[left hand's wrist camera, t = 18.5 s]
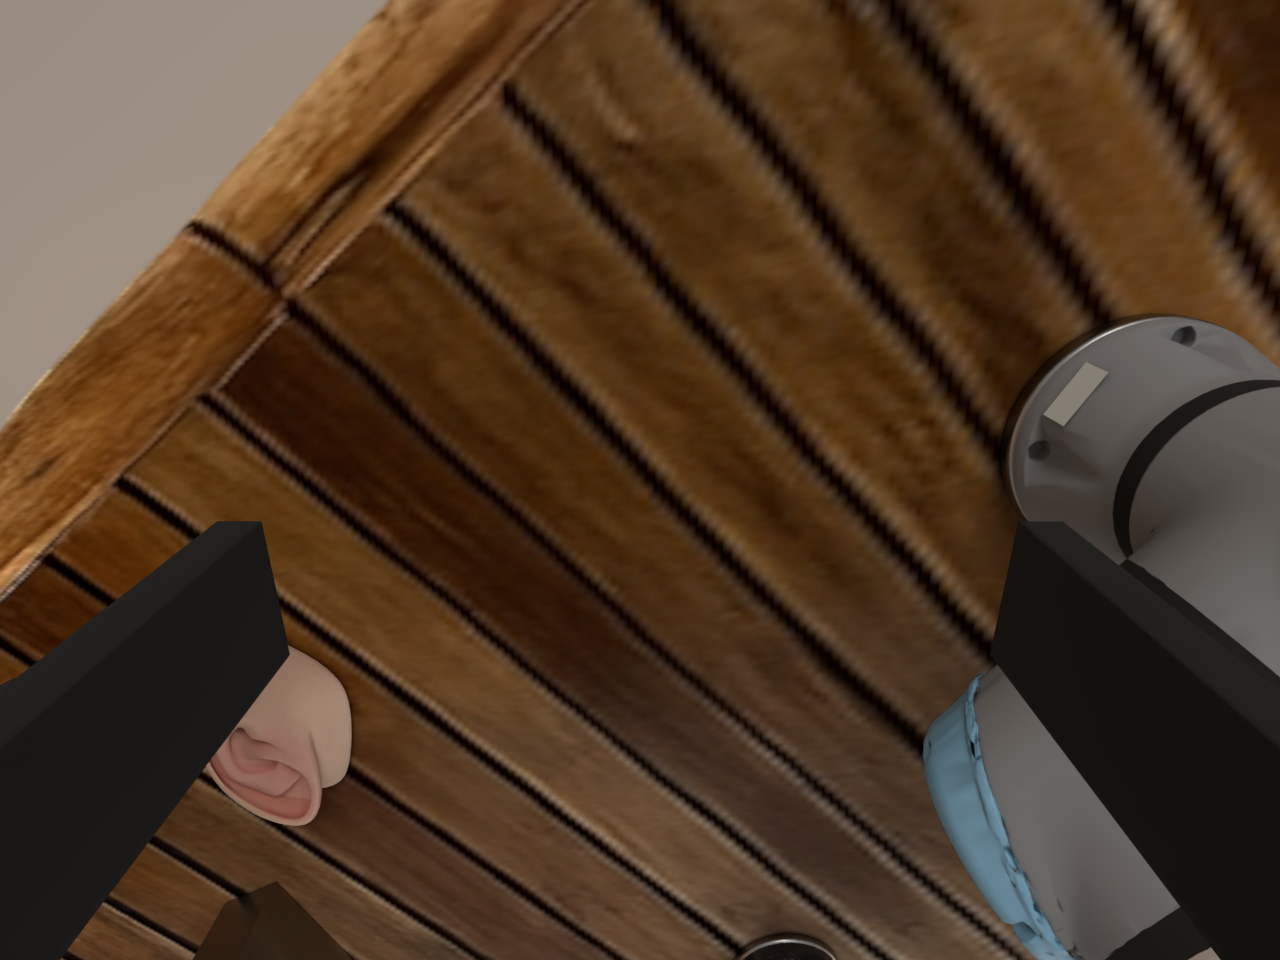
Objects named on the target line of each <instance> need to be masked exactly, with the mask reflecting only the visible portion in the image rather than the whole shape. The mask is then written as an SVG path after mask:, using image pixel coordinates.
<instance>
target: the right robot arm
mask: <svg viewBox="0 0 1280 960" xmlns="http://www.w3.org/2000/svg"><path fill="white" fill-rule="evenodd" d="M734 960H837V958H836V956H835V954H834V953H833V951H832V950H831V949H830V948H829V947H828V946H827V945H825V944H824V943H822V942H820V941H819V940H816V939H814V938H811V937H808V936H804V935H797V934H779V935H773V936H768V937H765V938H762V939H759V940H757V941H755V942H753V943H751V944H749V945H748V946H746V947H745V948H744V949H743V950H742V951H741V952H740V953H739V954H738V955H737V956H736V958H735V959H734Z"/></svg>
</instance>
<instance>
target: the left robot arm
mask: <svg viewBox="0 0 1280 960" xmlns="http://www.w3.org/2000/svg"><path fill="white" fill-rule="evenodd" d="M1001 470H1002V476H1003V482H1004V485H1005V488H1006V491H1007V494H1008V496H1009V498H1010V500H1011V502H1012V504H1013V505H1014V507H1015V509H1016V510H1017V511H1018V513H1019V514H1020V515H1021V517H1022V518H1023V519H1024V520H1025V521H1019V522H1018V526H1017V531H1016V536H1015V540H1014V545H1013V550H1012V554H1011V559H1010V564H1009V568H1008V573H1007V578H1006V582H1005V587H1004V592H1003V596H1002V601H1001V606H1000V610H999V615H998V620H997V624H996V629H995V634H994V638H993V643H992V648H991V652H990V656H991V657H992V658H993V660H994V661H995V662H996V663H997V665H996V666H995V667H993V668H992V669H991V670H989V671H988V672H987V673H985V672H983V673H981V674H980V675H978V676H977V677H976V678H974V679H973V680H972V681H971V683H970V685H969V687H968V689H967V690H966V691H965V692H964V693H963V694H962V695H961V696H960V697H959V698H958V699H957V700H956V701H955V702H954V703H953V704H952V705H951V706H949V707H948V708H947V709H946V710H945V711H944V712H943V713H942V714H941V715H940V716H938V717H937V718H936V719H935V720H934V722H933V723H932V724H931V726H930V727H929V729H928V731H927V733H926V736H925V740H924V746H923V747H924V750H923V759H924V764H925V766H924V769H925V777H926V781H927V785H928V788H929V792H930V795H931V798H932V801H933V803H934V806H935V809H936V811H937V813H938V816H939V818H940V820H941V823H942V825H943V827H944V829H945V831H946V833H947V835H948V837H949V839H950V841H951V843H952V845H953V847H954V849H955V851H956V853H957V854H958V856H959V858H960V860H961V861H962V863H963V865H964V866H965V868H966V870H967V872H968V873H969V875H970V876H971V878H972V880H973V881H974V883H975V884H976V886H977V887H978V889H979V890H980V892H981V893H982V895H983V896H984V898H985V899H986V901H987V902H988V903H989V905H990V906H991V908H992V909H993V910H994V912H995V913H996V914H997V915H998V916H999V918H1000V919H1001V920H1002V921H1003V922H1005V923H1008V924H1011V926H1012V928H1013V929H1014V931H1015V933H1016V935H1017V937H1018V939H1019V940H1020V942H1021V943H1022V945H1023V946H1024V947H1025V948H1026V949H1027V950H1028V951H1029V952H1030V953H1032V954H1033V955H1034V956H1035V957H1036V958H1037V959H1038V960H1280V369H1279V368H1278V367H1277V366H1276V365H1274V364H1273V363H1272V362H1271V361H1270V360H1269V359H1268V358H1266V357H1265V356H1264V355H1263V354H1262V353H1261V352H1259V351H1258V350H1257V349H1256V348H1255V347H1254V346H1253V345H1251V344H1250V343H1249V342H1248V341H1246V340H1245V339H1243V338H1242V337H1240V336H1238V335H1237V334H1235V333H1233V332H1231V331H1229V330H1227V329H1225V328H1223V327H1221V326H1219V325H1216V324H1214V323H1211V322H1207V321H1203V320H1199V319H1195V318H1191V317H1186V316H1181V315H1175V314H1163V313H1155V314H1142V315H1135V316H1130V317H1125V318H1121V319H1118V320H1115V321H1112V322H1109V323H1106V324H1103V325H1101V326H1099V327H1096V328H1094V329H1092V330H1090V331H1088V332H1086V333H1084V334H1083V335H1081V336H1079V337H1078V338H1076V339H1074V340H1073V341H1071V342H1070V343H1068V344H1067V345H1066V346H1064V347H1063V348H1062V349H1060V350H1059V351H1058V352H1057V353H1055V354H1054V355H1053V356H1052V357H1051V358H1050V359H1049V360H1047V361H1046V363H1045V364H1044V365H1043V366H1042V367H1041V368H1040V369H1039V370H1038V371H1037V372H1036V373H1035V375H1034V376H1033V377H1032V378H1031V379H1030V381H1029V382H1028V383H1027V385H1026V386H1025V388H1024V389H1023V391H1022V392H1021V394H1020V396H1019V397H1018V399H1017V401H1016V403H1015V405H1014V407H1013V409H1012V411H1011V414H1010V416H1009V419H1008V422H1007V424H1006V428H1005V432H1004V436H1003V441H1002V448H1001ZM289 656H290V652H289V648H288V643H287V638H286V634H285V629H284V624H283V620H282V615H281V610H280V606H279V601H278V596H277V592H276V587H275V582H274V578H273V573H272V568H271V564H270V559H269V554H268V550H267V545H266V540H265V536H264V531H263V526H262V522H261V521H217V522H216V523H215V524H213V525H212V526H211V527H209V528H208V529H207V530H206V531H204V532H203V533H202V534H201V535H199V536H198V537H197V538H195V539H194V540H193V541H192V542H190V543H189V544H188V545H186V546H185V547H184V548H183V549H181V550H180V551H179V552H177V553H176V554H175V555H174V556H172V557H171V558H170V559H168V560H167V561H166V562H165V563H163V564H162V565H161V566H159V567H158V568H157V569H156V570H154V571H153V572H152V573H151V574H149V575H148V576H147V577H145V578H144V579H143V580H142V581H140V582H139V583H138V584H136V585H135V586H134V587H133V588H131V589H130V590H129V591H127V592H126V593H125V594H124V595H122V596H121V597H120V598H118V599H117V600H116V601H115V602H113V603H112V604H111V605H110V606H108V607H107V608H106V609H104V610H103V611H102V612H101V613H99V614H98V615H97V616H95V617H94V618H93V619H92V620H90V621H89V622H88V623H86V624H85V625H84V626H83V627H81V628H80V629H79V630H77V631H76V632H75V633H74V634H72V635H71V636H70V637H68V638H67V639H66V640H65V641H63V642H62V643H61V644H60V645H58V646H57V647H56V648H54V649H53V650H52V651H51V652H49V653H48V654H47V655H45V656H44V657H43V658H42V659H40V660H39V661H38V662H36V663H35V664H34V665H33V666H31V667H30V668H29V669H27V670H26V671H25V672H24V673H22V674H21V675H20V676H19V677H17V678H16V679H12V680H10V681H8V682H6V683H4V684H2V685H0V960H60V959H61V957H62V956H63V955H64V953H65V952H66V951H67V949H68V948H69V947H70V945H71V944H72V943H73V941H74V940H75V939H76V938H77V936H78V935H79V934H80V932H81V931H82V930H83V928H84V927H85V926H86V924H87V923H88V922H89V920H90V919H91V918H92V916H93V915H94V914H95V912H96V911H97V910H98V908H99V907H100V906H101V904H102V903H103V902H104V900H105V899H106V898H107V896H108V895H109V894H110V893H111V891H112V890H113V889H114V887H115V886H116V885H117V883H118V882H119V881H120V879H121V878H122V877H123V875H124V874H125V873H126V871H127V870H128V869H129V867H130V866H131V865H132V863H133V862H134V861H135V859H136V858H137V857H138V855H139V854H140V853H141V851H142V850H143V849H144V847H145V846H146V845H147V844H148V842H149V841H150V840H151V838H152V837H153V836H154V834H155V833H156V832H157V830H158V829H159V828H160V826H161V825H162V824H163V822H164V821H165V820H166V818H167V817H168V816H169V814H170V813H171V812H172V810H173V809H174V808H175V806H176V805H177V804H178V802H179V801H180V800H181V799H182V797H183V796H184V795H185V793H186V792H187V791H188V789H189V788H190V787H191V785H192V784H193V783H194V781H195V780H196V779H197V777H198V776H199V775H200V773H201V772H202V771H203V769H204V768H205V767H206V765H207V764H208V763H209V761H210V760H211V759H212V757H213V756H214V755H215V754H216V752H217V751H218V750H219V748H220V747H221V746H222V744H223V743H224V742H225V740H226V739H227V738H228V736H229V735H230V734H231V732H232V731H233V730H234V728H235V727H236V726H237V724H238V723H239V722H240V720H241V719H242V718H243V716H244V715H245V714H246V712H247V711H248V710H249V708H250V707H251V706H252V705H253V703H254V702H255V701H256V699H257V698H258V697H259V695H260V694H261V693H262V691H263V690H264V689H265V687H266V686H267V685H268V683H269V682H270V681H271V679H272V678H273V677H274V675H275V674H276V673H277V671H278V670H279V669H280V667H281V666H282V665H283V663H284V662H285V661H286V660H287V658H288V657H289Z"/></svg>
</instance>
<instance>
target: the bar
mask: <svg viewBox="0 0 1280 960" xmlns="http://www.w3.org/2000/svg"><path fill="white" fill-rule="evenodd" d="M193 960H353V959H352V958H351V957H350V956H349V955H348V954H347V953H346V952H345V951H344V950H343V949H342V948H341V947H340V946H339V945H338V944H337V943H336V942H335V941H334V940H333V939H332V938H331V937H330V936H329V935H328V934H327V933H326V932H325V931H324V930H323V929H322V928H321V927H320V926H319V925H318V924H317V923H316V922H315V921H314V920H313V919H312V918H311V917H310V916H309V915H308V914H307V912H306V911H305V910H304V909H303V908H302V907H301V906H300V905H299V904H298V903H297V902H296V901H295V900H294V899H293V898H292V897H291V896H290V895H289V894H288V893H287V892H286V891H285V890H284V889H283V888H282V887H281V886H280V885H279V884H278V883H277V882H275V883H273V884H270V885H268V886H265V887H263V888H261V889H258V890H256V891H254V892H251V893H249V894H246V895H244V896H242V897H239V898H237V899H235V900H232V901H230V902H227V903H225V905H224V906H223V908H222V910H221V912H220V913H219V915H218V917H217V918H216V920H215V922H214V924H213V925H212V927H211V929H210V931H209V932H208V934H207V936H206V937H205V939H204V941H203V943H202V944H201V946H200V948H199V949H198V951H197V953H196V955H195V956H194V958H193Z"/></svg>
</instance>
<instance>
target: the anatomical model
mask: <svg viewBox="0 0 1280 960" xmlns="http://www.w3.org/2000/svg"><path fill="white" fill-rule="evenodd" d="M288 648H289V652H290V656H289V657H288V658H287V660H286V661H285V662H284V663H283V665H282V666H281V667H280V669H279V670H278V671H277V673H276V674H275V675H274V677H273V678H272V679H271V681H270V682H269V683H268V685H267V686H266V687H265V689H264V690H263V691H262V693H261V694H260V695H259V697H258V698H257V699H256V701H255V702H254V703H253V705H252V706H251V707H250V708H249V710H248V711H247V712H246V714H245V715H244V716H243V718H242V719H241V720H240V722H239V723H238V724H237V726H236V727H235V728H234V730H233V731H232V732H231V734H230V735H229V736H228V738H227V739H226V740H225V742H224V743H223V744H222V746H221V747H220V748H219V750H218V751H217V752H216V754H215V755H214V756H213V757H212V759H211V760H210V761H209V763H208V764H207V765H206V768H207V770H208V772H209V773H210V775H211V776H212V778H213V779H214V781H215V782H216V783H217V784H218V785H219V787H220V788H221V789H222V790H223V791H224V792H225V793H226V794H227V795H228V796H229V797H230V798H232V799H233V800H234V801H236V802H237V803H238V804H240V805H241V806H243V807H244V808H246V809H248V810H249V811H251V812H252V813H254V814H256V815H258V816H260V817H262V818H265V819H268V820H270V821H273V822H276V823H280V824H285V825H293V826H297V825H304V824H307V823H309V822H310V821H311V820H313V819H314V817H315V816H316V814H317V812H318V810H319V807H320V803H321V796H322V788H326V787H329V786H332V785H335V784H336V783H338V782H339V781H341V780H342V778H343V777H344V776H345V774H346V772H347V769H348V765H349V761H350V753H351V739H352V731H351V713H350V707H349V701H348V698H347V695H346V692H345V690H344V688H343V686H342V684H341V683H340V681H339V680H338V679H337V678H336V677H335V676H334V674H333V673H331V672H330V671H329V670H328V669H327V668H326V667H324V666H323V665H321V664H320V663H319V662H317V661H316V660H314V659H313V658H311V657H309V656H308V655H306V654H304V653H302V652H300V651H299V650H297V649H295V648H293V647H291V646H289V645H288Z"/></svg>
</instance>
